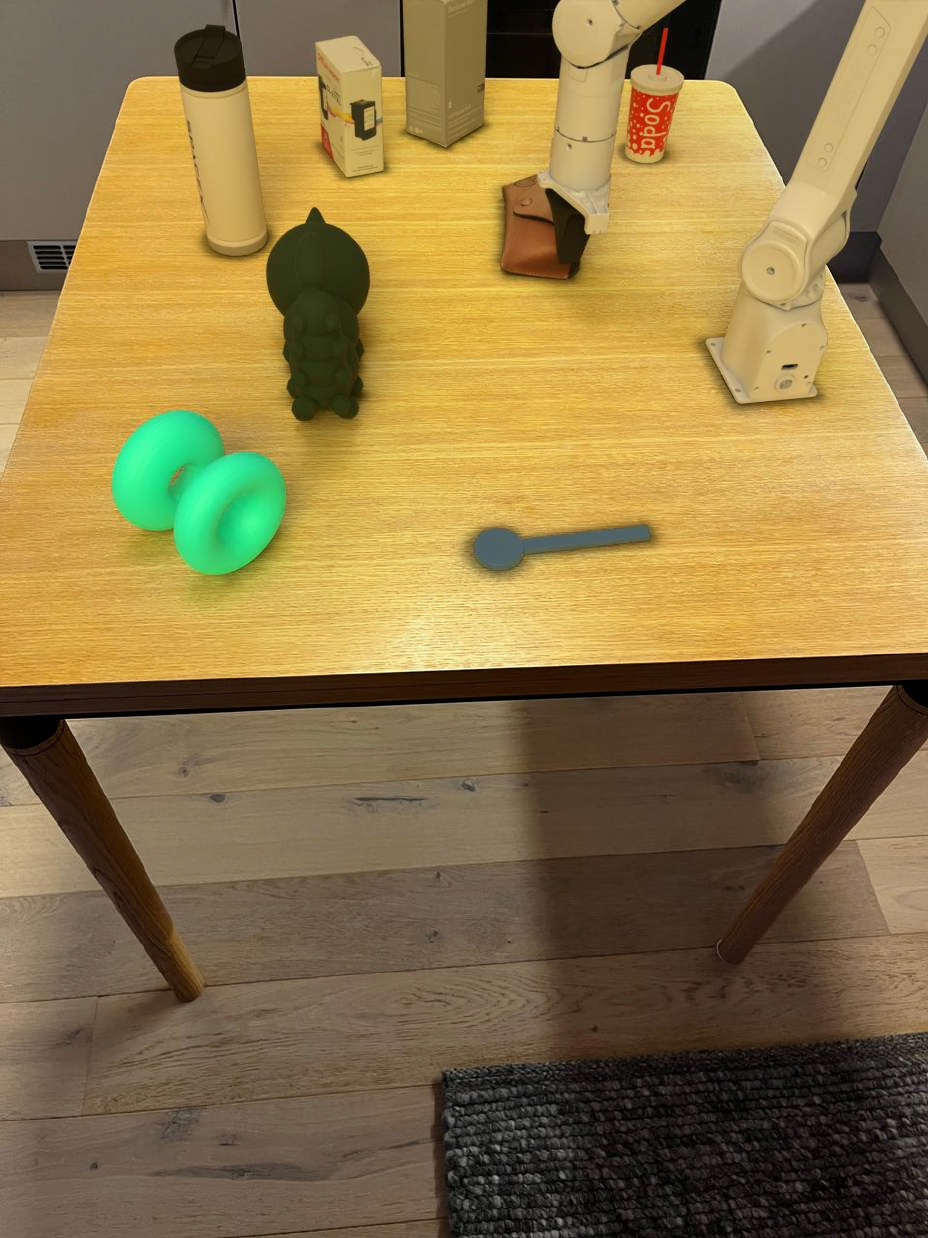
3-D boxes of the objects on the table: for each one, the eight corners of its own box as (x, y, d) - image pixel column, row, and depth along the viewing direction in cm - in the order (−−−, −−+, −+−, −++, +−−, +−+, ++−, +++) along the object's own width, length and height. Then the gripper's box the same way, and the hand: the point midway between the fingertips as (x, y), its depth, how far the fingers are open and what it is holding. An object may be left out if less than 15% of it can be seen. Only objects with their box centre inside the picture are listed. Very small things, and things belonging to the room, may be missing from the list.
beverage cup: (613, 160, 120) (633, 34, 109) (623, 137, 124) (643, 13, 113) (664, 169, 119) (689, 43, 108) (672, 146, 123) (697, 22, 112)
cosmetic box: (446, 150, 120) (448, 4, 108) (399, 131, 123) (397, -13, 110) (487, 124, 125) (495, -18, 112) (442, 106, 127) (444, -35, 115)
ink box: (320, 144, 120) (312, 38, 111) (358, 137, 122) (353, 32, 112) (346, 178, 115) (339, 71, 106) (385, 171, 117) (382, 64, 108)
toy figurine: (382, 463, 89) (367, 278, 102) (377, 287, 73) (360, 96, 86) (275, 468, 88) (274, 281, 101) (245, 291, 72) (249, 97, 85)
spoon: (654, 553, 81) (656, 547, 80) (478, 573, 79) (479, 567, 78) (640, 517, 83) (642, 511, 83) (469, 536, 81) (469, 530, 81)
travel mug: (274, 225, 109) (249, 25, 93) (260, 259, 105) (232, 56, 89) (217, 220, 109) (183, 20, 93) (201, 254, 105) (163, 51, 89)
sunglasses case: (497, 182, 115) (531, 133, 110) (546, 213, 118) (582, 167, 113) (498, 272, 104) (536, 222, 99) (553, 304, 107) (592, 257, 102)
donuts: (215, 475, 85) (195, 380, 77) (300, 533, 81) (287, 439, 73) (120, 541, 80) (88, 446, 72) (205, 605, 76) (181, 513, 68)
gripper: (525, 92, 95) (514, 225, 106) (562, 169, 87) (546, 305, 97) (597, 89, 96) (579, 220, 107) (640, 164, 88) (616, 300, 98)
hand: (568, 261), depth 102 cm, fingers closed
